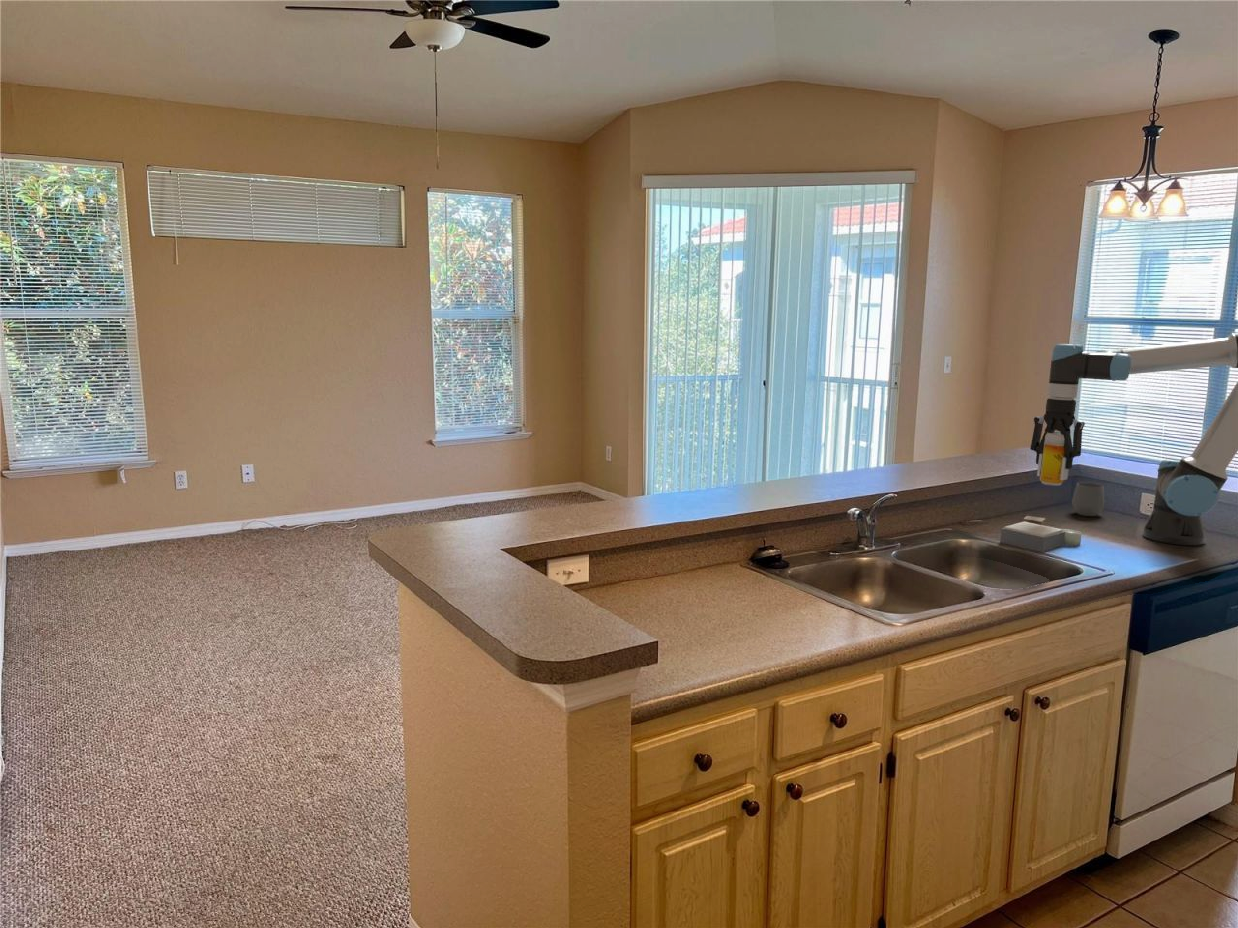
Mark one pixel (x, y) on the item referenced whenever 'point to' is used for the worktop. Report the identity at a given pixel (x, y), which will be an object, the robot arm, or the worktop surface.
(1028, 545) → the podium
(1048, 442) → the glass of beer
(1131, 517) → the worktop surface
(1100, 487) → the cup
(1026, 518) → the walnut block
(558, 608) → the worktop surface
